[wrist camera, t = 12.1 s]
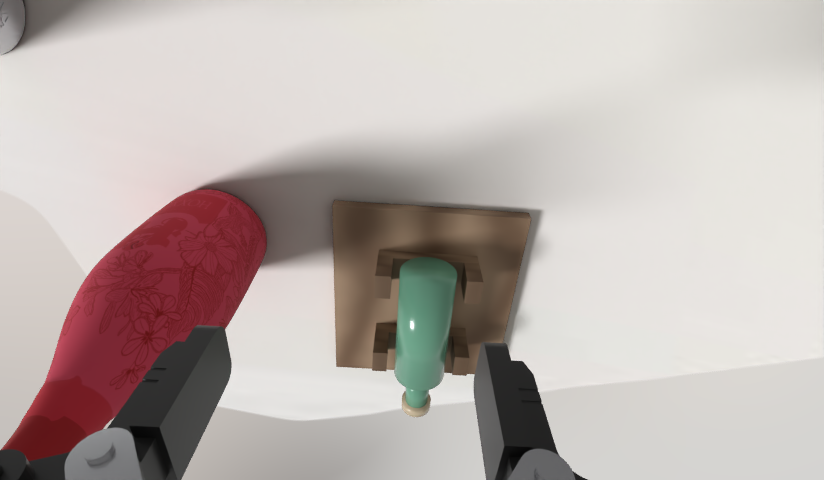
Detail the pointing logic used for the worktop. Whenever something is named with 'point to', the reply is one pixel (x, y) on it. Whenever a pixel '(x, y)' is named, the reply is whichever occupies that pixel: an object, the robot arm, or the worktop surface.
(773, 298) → the worktop surface
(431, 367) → the green bottle
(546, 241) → the worktop surface
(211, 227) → the wine bottle
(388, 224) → the walnut bottle rack
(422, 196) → the worktop surface
